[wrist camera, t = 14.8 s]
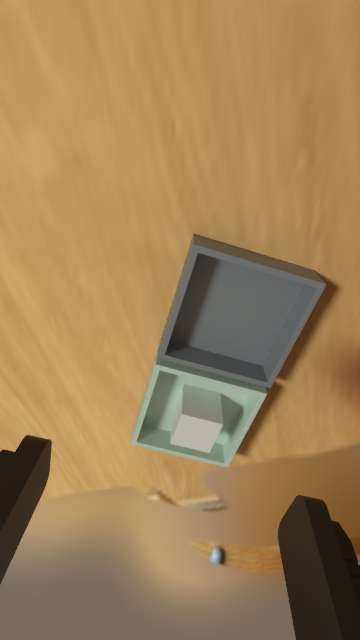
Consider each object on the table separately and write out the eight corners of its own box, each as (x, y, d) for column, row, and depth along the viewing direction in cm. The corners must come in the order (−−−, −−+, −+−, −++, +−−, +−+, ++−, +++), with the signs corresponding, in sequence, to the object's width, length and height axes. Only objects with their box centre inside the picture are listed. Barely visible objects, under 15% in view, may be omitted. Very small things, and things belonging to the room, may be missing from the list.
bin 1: (314, 270, 33) (326, 284, 30) (264, 368, 38) (270, 388, 35) (193, 233, 32) (193, 244, 29) (160, 339, 37) (157, 358, 34)
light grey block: (220, 392, 40) (223, 424, 35) (208, 419, 42) (209, 453, 37) (183, 383, 39) (181, 414, 35) (173, 410, 41) (169, 443, 37)
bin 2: (261, 373, 39) (267, 394, 36) (225, 444, 44) (227, 467, 41) (159, 345, 38) (155, 364, 35) (135, 422, 43) (130, 444, 40)
